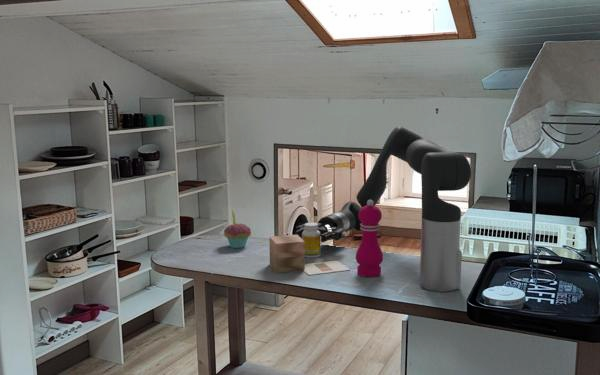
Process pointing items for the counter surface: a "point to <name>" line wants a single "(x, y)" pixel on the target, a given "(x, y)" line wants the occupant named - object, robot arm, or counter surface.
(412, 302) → the counter surface
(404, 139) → the robot arm
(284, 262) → the tan cubic block
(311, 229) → the supplement bottle
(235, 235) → the cupcake
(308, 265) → the page
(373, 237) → the pepper mill
